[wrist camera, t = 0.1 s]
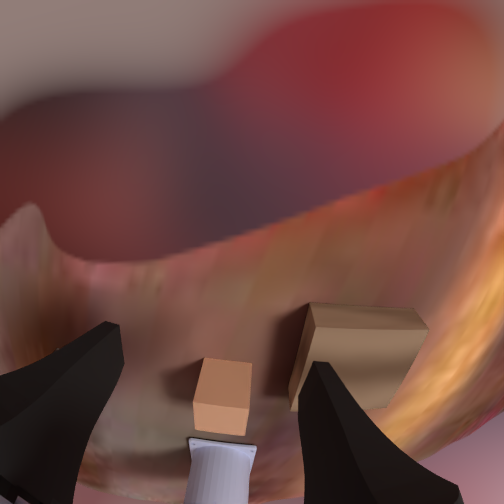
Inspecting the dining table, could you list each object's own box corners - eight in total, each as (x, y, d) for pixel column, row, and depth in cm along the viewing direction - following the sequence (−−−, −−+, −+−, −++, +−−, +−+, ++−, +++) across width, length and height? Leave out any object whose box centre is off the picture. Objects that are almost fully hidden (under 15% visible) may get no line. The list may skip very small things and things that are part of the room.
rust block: (247, 392, 24) (244, 435, 19) (204, 387, 24) (195, 429, 19) (252, 362, 22) (249, 409, 18) (204, 357, 22) (192, 401, 18)
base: (378, 385, 23) (386, 407, 20) (288, 385, 23) (290, 411, 20) (413, 308, 20) (429, 329, 17) (309, 302, 20) (315, 326, 17)
